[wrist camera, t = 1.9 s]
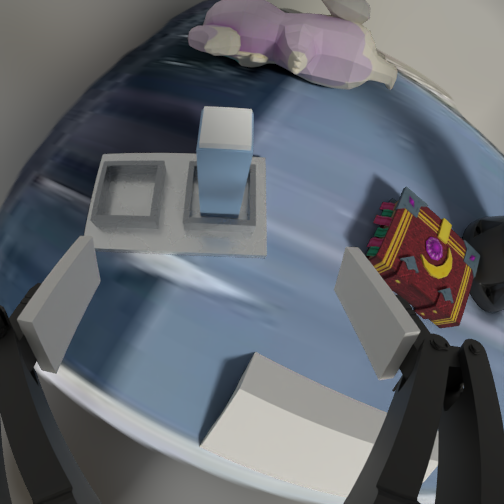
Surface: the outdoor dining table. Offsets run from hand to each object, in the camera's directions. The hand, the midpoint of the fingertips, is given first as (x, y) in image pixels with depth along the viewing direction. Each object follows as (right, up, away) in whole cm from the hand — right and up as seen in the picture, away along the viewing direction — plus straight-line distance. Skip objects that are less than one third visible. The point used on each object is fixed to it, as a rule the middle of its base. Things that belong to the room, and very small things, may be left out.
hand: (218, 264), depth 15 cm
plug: (-2, +6, +17) cm, 18 cm away
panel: (-7, +6, +18) cm, 20 cm away
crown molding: (+12, -22, +13) cm, 28 cm away
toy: (+8, +30, +27) cm, 41 cm away
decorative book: (+23, -1, +20) cm, 30 cm away
